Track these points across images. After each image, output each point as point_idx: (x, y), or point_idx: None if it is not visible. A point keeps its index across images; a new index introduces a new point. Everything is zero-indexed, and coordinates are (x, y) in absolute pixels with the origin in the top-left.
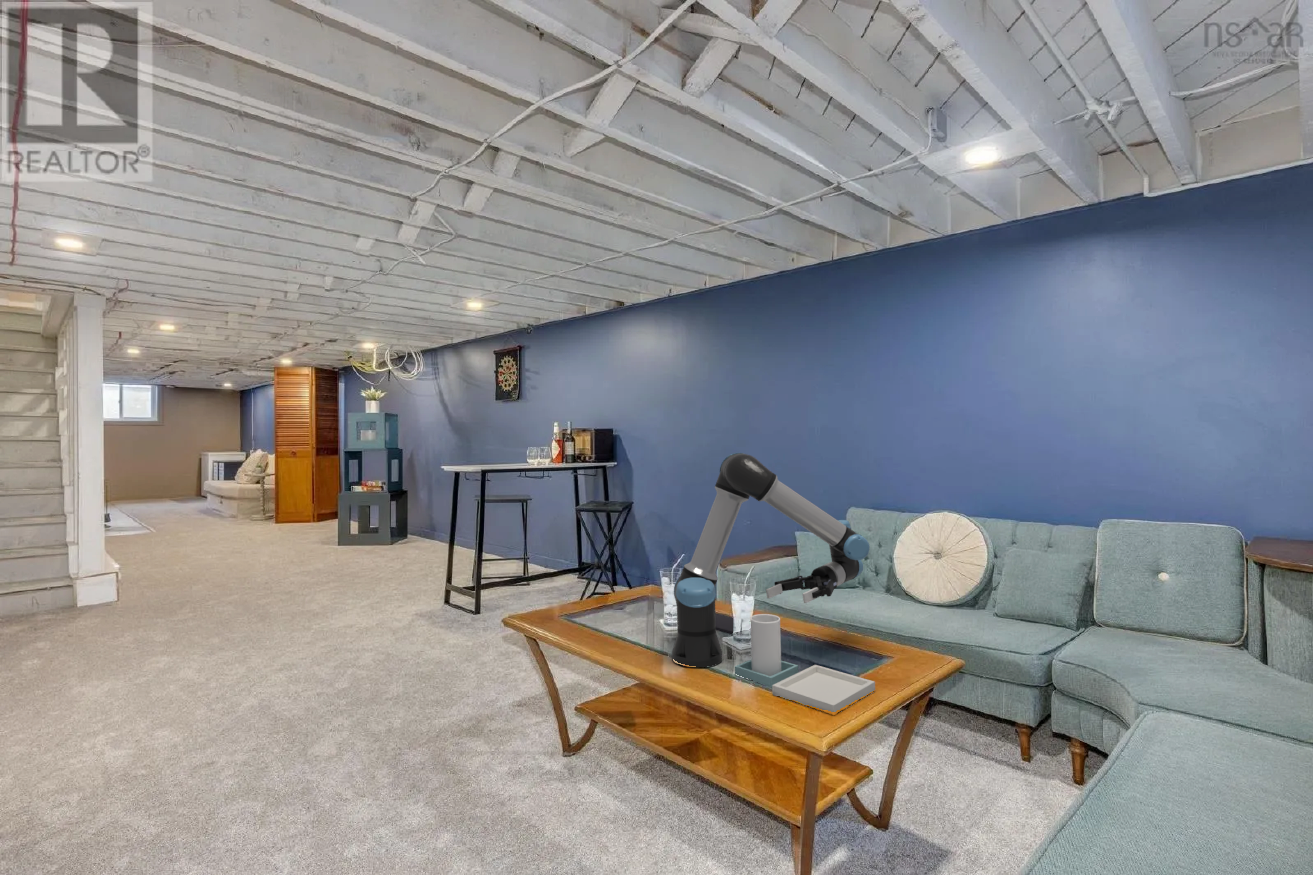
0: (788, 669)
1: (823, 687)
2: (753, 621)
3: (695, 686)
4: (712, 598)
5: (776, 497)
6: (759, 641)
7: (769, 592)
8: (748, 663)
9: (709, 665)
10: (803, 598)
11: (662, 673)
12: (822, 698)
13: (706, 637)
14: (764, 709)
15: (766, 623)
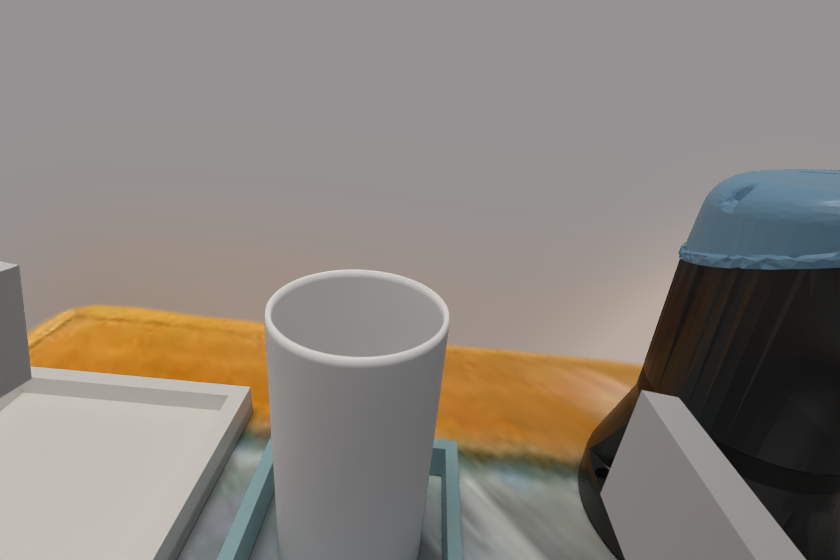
0: (232, 532)
1: (36, 516)
2: (390, 277)
3: (476, 363)
4: (721, 251)
5: None
6: (351, 354)
7: (636, 450)
8: (446, 508)
9: (579, 468)
10: (19, 325)
11: (612, 378)
12: (53, 431)
13: (636, 393)
14: (244, 348)
15: (315, 278)
